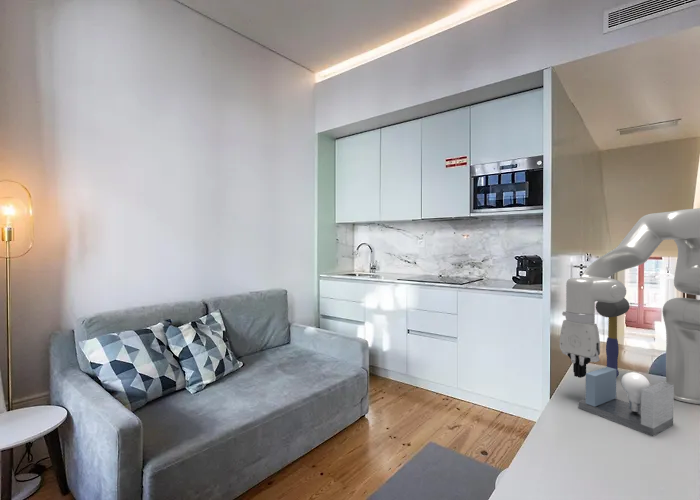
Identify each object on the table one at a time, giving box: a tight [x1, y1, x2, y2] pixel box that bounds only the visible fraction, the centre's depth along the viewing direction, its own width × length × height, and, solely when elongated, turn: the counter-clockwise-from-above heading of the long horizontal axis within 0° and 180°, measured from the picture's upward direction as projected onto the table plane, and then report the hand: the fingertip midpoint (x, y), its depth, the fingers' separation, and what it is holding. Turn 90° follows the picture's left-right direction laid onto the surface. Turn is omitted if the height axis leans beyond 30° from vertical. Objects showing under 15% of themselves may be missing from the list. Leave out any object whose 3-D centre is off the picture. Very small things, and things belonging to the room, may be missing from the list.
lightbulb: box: [620, 371, 651, 413], centre depth 99 cm, size 6×6×11 cm
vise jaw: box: [585, 366, 617, 407], centre depth 106 cm, size 12×2×9 cm, turn 119°
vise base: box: [577, 381, 675, 437], centre depth 101 cm, size 12×18×11 cm, turn 29°
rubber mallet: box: [595, 297, 630, 379], centre depth 130 cm, size 12×8×30 cm, turn 124°
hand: (579, 376), depth 111 cm, fingers closed
